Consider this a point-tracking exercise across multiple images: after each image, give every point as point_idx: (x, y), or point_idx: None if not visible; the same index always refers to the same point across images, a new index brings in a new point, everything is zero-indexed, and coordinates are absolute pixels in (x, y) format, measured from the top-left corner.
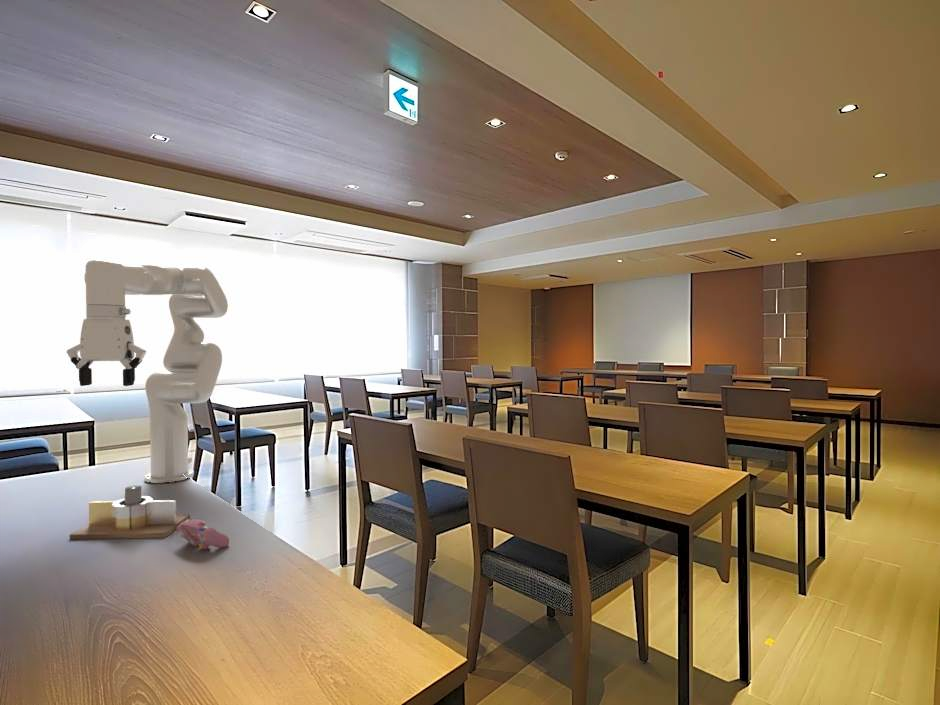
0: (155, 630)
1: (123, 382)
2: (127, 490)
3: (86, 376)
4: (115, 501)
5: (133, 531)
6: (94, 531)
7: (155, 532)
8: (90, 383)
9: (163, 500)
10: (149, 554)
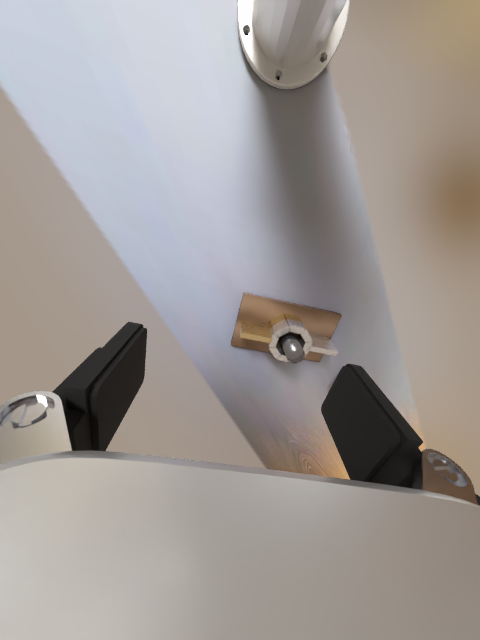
0: (325, 464)
1: (327, 420)
2: (290, 361)
3: (124, 393)
4: (270, 340)
5: None
6: (251, 342)
7: (310, 358)
8: (144, 338)
9: (324, 349)
10: (309, 388)
